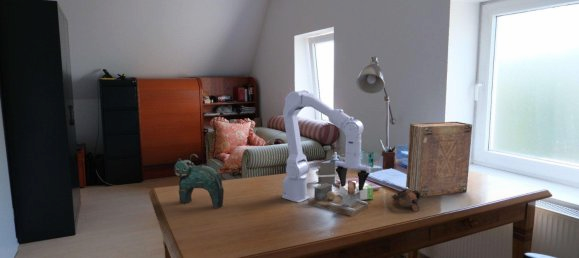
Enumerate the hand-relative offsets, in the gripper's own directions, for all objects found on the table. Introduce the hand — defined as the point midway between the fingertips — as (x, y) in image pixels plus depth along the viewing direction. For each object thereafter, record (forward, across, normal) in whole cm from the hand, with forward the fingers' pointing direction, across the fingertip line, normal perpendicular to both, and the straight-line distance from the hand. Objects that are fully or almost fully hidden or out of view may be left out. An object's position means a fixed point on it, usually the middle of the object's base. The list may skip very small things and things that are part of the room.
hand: (351, 187), depth 144 cm
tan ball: (+5, +9, 0) cm, 11 cm away
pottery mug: (+9, -15, -17) cm, 24 cm away
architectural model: (+9, +26, -21) cm, 35 cm away
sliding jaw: (+7, 0, 0) cm, 7 cm away
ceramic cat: (+8, +48, +34) cm, 59 cm away
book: (+9, -17, -44) cm, 48 cm away
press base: (+8, +6, 0) cm, 10 cm away
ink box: (+6, +2, -18) cm, 19 cm away
